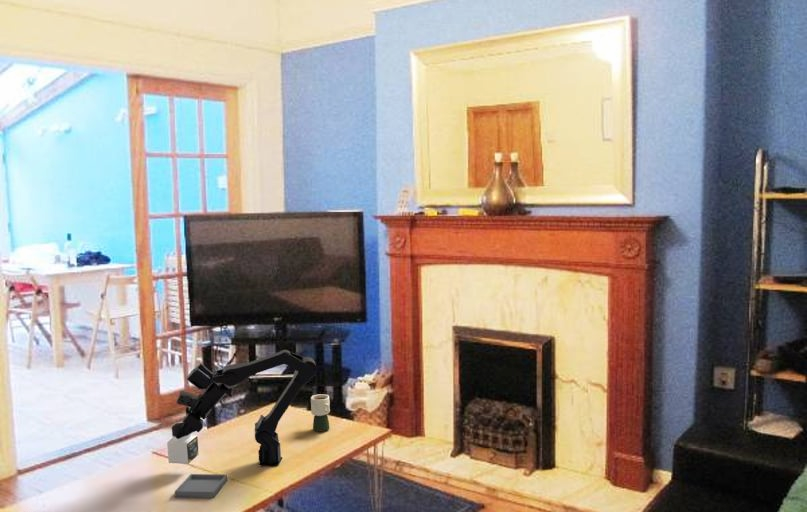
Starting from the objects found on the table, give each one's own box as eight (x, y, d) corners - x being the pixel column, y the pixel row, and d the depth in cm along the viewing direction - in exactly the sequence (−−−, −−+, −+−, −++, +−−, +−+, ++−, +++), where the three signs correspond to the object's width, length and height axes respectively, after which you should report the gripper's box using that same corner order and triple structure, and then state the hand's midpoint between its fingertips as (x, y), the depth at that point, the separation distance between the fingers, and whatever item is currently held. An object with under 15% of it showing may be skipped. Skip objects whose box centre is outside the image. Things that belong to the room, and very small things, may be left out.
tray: (227, 480, 210) (227, 474, 209) (213, 498, 198) (213, 492, 198) (191, 480, 211) (190, 474, 210) (175, 497, 199) (174, 491, 199)
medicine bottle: (188, 464, 212) (186, 428, 210) (168, 463, 213) (165, 427, 211) (199, 455, 219) (196, 420, 217) (179, 454, 220) (176, 419, 218)
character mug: (337, 431, 250) (336, 397, 248) (322, 436, 245) (320, 402, 244) (320, 423, 258) (319, 391, 256) (305, 428, 253) (304, 396, 252)
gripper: (193, 375, 223) (161, 410, 221) (188, 391, 205) (154, 429, 203) (218, 395, 225) (187, 429, 224) (216, 412, 207) (182, 451, 206)
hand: (177, 434), depth 214 cm, fingers closed on medicine bottle, 6 cm apart
